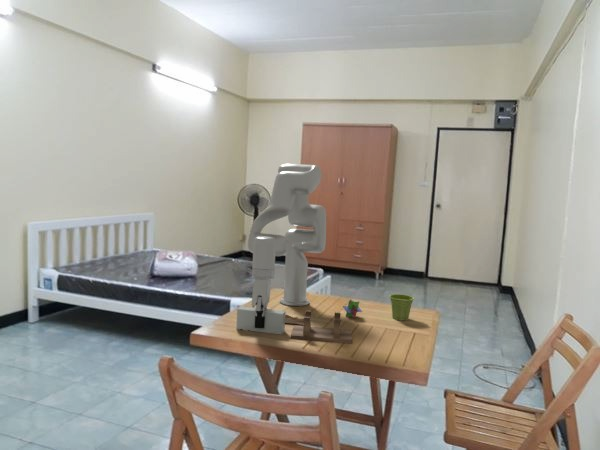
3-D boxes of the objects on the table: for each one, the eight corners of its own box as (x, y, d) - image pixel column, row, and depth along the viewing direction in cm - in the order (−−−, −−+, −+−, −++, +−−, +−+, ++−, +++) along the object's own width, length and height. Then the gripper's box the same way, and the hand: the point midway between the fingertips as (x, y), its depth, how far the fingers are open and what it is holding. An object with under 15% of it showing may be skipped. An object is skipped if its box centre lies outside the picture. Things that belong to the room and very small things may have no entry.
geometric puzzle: (366, 314, 182) (361, 295, 186) (350, 315, 179) (346, 296, 183) (358, 321, 187) (354, 302, 191) (343, 322, 185) (338, 303, 189)
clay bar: (240, 325, 166) (240, 306, 166) (284, 331, 163) (285, 310, 163) (236, 329, 162) (237, 309, 162) (281, 334, 159) (282, 313, 159)
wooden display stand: (293, 328, 167) (294, 308, 166) (350, 332, 165) (352, 313, 165) (290, 338, 156) (291, 317, 155) (351, 343, 154) (353, 322, 154)
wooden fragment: (317, 323, 175) (317, 320, 175) (302, 330, 166) (302, 327, 166) (261, 310, 189) (261, 308, 189) (244, 316, 179) (244, 313, 179)
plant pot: (406, 323, 180) (407, 301, 180) (383, 318, 186) (385, 296, 185) (416, 318, 188) (418, 297, 187) (394, 313, 194) (396, 293, 193)
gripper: (256, 268, 170) (254, 318, 171) (247, 276, 153) (245, 332, 155) (277, 269, 169) (274, 319, 171) (270, 278, 153) (267, 334, 154)
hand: (260, 325), depth 163 cm, fingers closed on clay bar, 4 cm apart
